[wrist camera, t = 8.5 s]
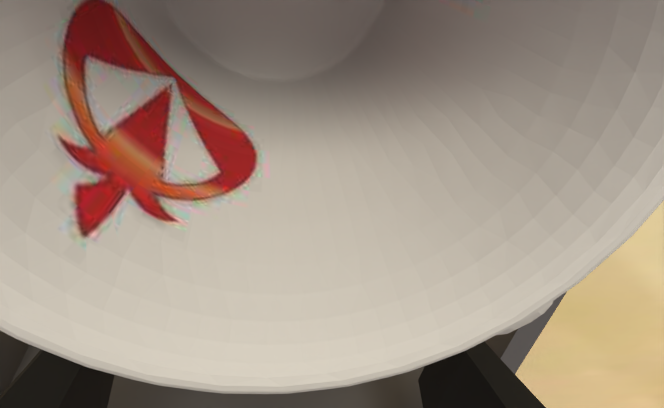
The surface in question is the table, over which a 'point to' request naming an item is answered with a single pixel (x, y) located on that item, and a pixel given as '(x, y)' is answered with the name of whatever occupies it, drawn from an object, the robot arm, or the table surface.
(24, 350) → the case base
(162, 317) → the cup
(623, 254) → the table surface
